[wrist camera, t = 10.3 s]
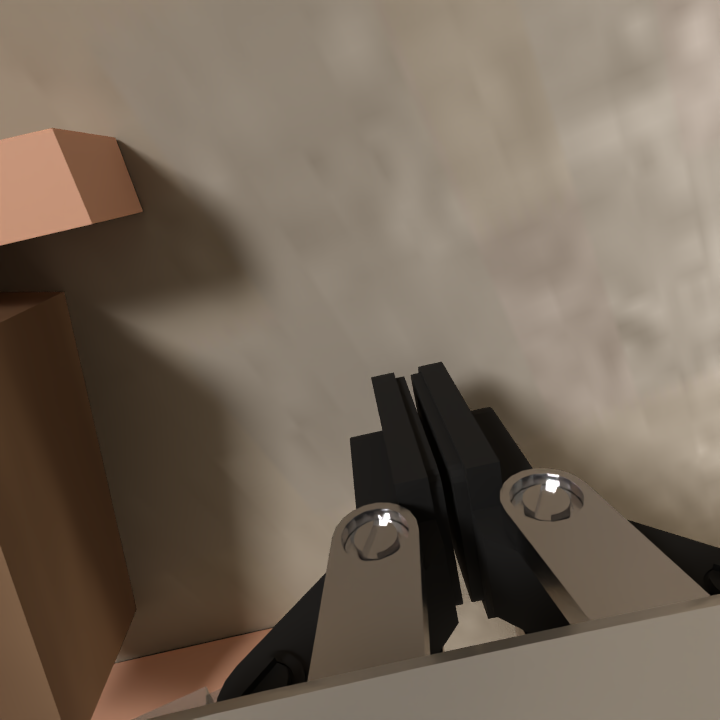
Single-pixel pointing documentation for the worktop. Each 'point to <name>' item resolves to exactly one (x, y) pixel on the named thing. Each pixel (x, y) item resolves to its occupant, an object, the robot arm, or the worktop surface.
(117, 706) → the frame
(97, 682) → the t block
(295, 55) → the worktop surface
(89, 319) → the worktop surface
